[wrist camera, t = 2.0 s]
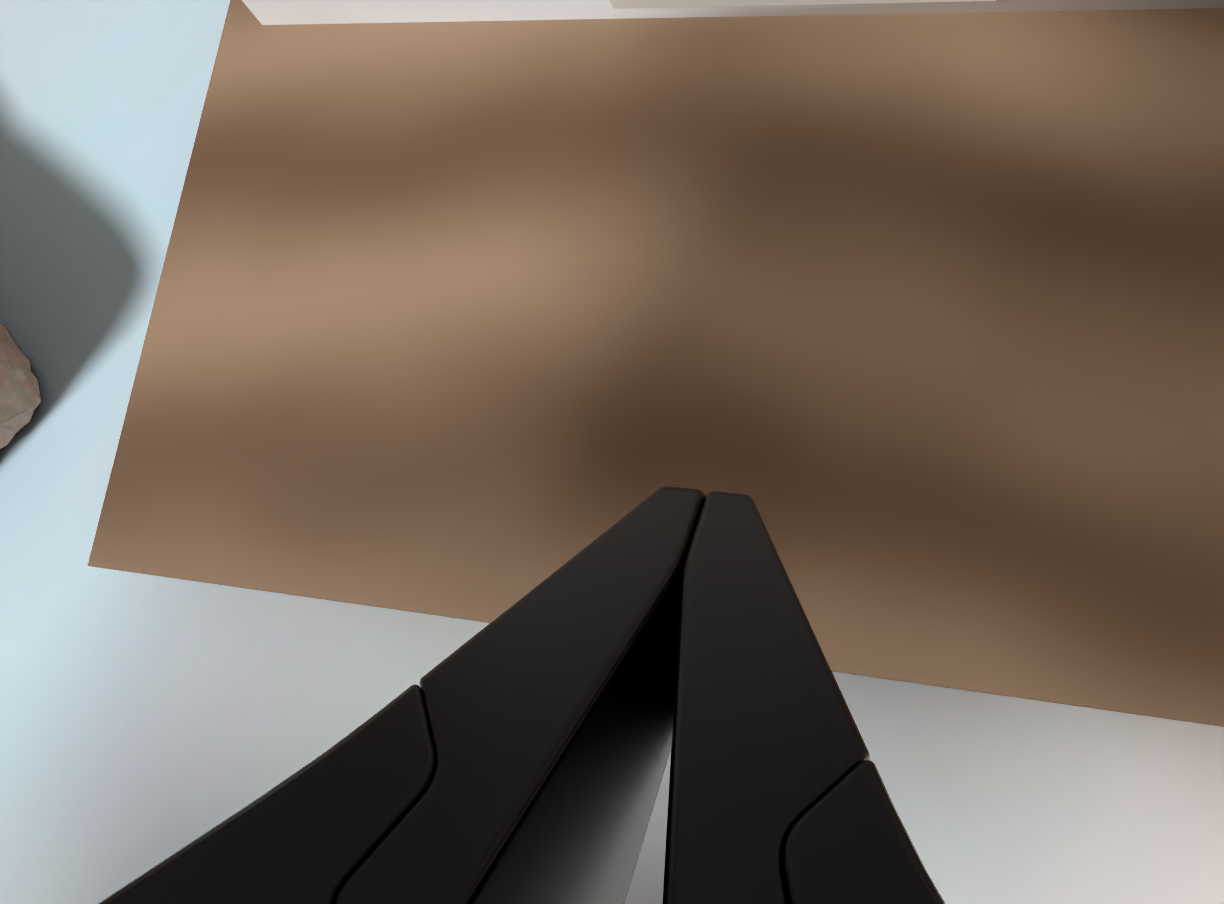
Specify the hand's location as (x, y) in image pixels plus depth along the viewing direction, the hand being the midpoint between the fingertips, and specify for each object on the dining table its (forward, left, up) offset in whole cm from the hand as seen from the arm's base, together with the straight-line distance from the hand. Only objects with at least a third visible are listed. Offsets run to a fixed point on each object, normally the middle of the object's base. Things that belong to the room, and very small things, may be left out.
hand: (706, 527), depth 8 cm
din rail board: (+8, 0, -8) cm, 11 cm away
